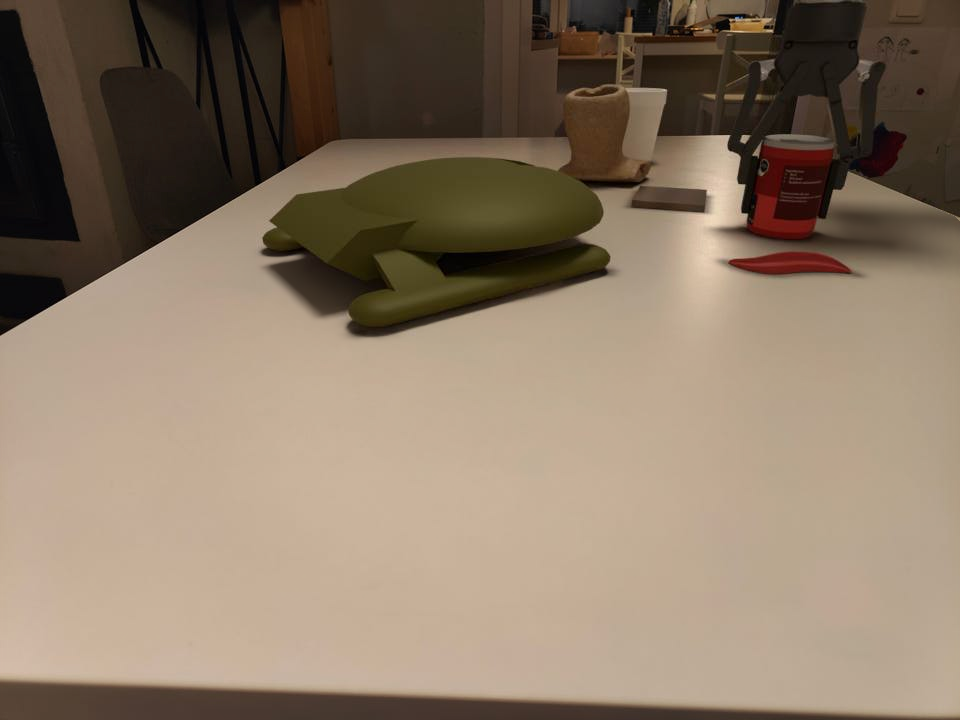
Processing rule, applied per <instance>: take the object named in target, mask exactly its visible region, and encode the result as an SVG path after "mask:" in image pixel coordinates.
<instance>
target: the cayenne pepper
mask: <svg viewBox="0 0 960 720" xmlns="http://www.w3.org/2000/svg"><path fill="white" fill-rule="evenodd" d="M727 263H728V264H729V265H732V266H734V267H737V268H739V269H742V270H746V271H750V272H754V273H761V274H769V275H781V274H792V273H806V272H807V273H808V272H809V273H811V272H813V273H814V272H816V273H817V272H819V273H820V272H821V273H822V272H824V273H842V274H843V273H845V274H853V273H852V270H851V268H849V267H848V266H847V265H846V264H844V263H842V262H841V261H840V260H838V259H836V258H834V257H832V256H829V255H827V254H823V253H820V252H814V251H798V250H797V251H795V250H789V251H778V252H773V253H769V254H765V255H761V256H754V257H744V258H731V259H730V260H729V261H727Z"/></svg>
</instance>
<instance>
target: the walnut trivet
mask: <svg viewBox="0 0 960 720" xmlns="http://www.w3.org/2000/svg"><path fill="white" fill-rule="evenodd" d="M707 194H708V189H705V188H704V189H701V188H687V187H684V188H683V187H669V186H655V185H654V186H653V185H639V187H638V189H637V190H636V193H635V194H634V196H633V198H632V200H631V208H642V209H657V210H670V211H683V212H684V211H685V212H699V213H700V212H701V213H704V212H705V211H706V209H705V208H706V202H707Z"/></svg>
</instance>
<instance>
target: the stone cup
mask: <svg viewBox="0 0 960 720" xmlns="http://www.w3.org/2000/svg"><path fill="white" fill-rule="evenodd" d="M625 88H626V87H624V85H620V84H602V85H600V86H597V87H595V88H589V87H581V88H577V89H575V90H572V91H570V92H569V93H568V94H567V95H566V96H565V98H564V100H563V104H562V111H563V112H562V113H563V125H564V130H565V134H566V137H567V141H568V143H569V147H570V160H569V162H568V163H566V164H565V165H562V166H561V167H559V168H558V170H557V171H560V172H562V173H564V174H567V175H569V176H571V177H573V178H575V179H577V180H579V181H584V182H585V181H588V182H601V183H602V182H603V183H605V182H606V183H640V182H642V181H643V180H644V179H646V177H647V175H649V172H650V170H651V168H652V161H651V160H637V159H630V158H627V157H625V156H624V155H623V152H622V145H623V140H624V136H625V132H626V128H627V124H628V120H629V115H630V101H629V96H628V93H627V91H626V89H625Z"/></svg>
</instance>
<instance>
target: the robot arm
mask: <svg viewBox="0 0 960 720" xmlns="http://www.w3.org/2000/svg"><path fill="white" fill-rule="evenodd" d="M866 5H867V4H866V3H865V2H863V0H796V1H795V3H794V4H792V5H791V7H790V8H788V11H787V17H786V22H785V26H784V32H783V36H782V42H781V46H780V49H779V51H778V53H777V54H776V55H775V57H774V58H771V59H766V60H758V61H757V60H753V61H751V62H749V64H748V70H747V71H748V75H747V76H748V81H747V86H746V89H745V91H744V94H743V97H742V100H741V103H740V106H739V109H738V111H737V113H736V118H735V120H734V123H733V126H732V128H731V131H730V135H729V137H728V140H727V144H726V145H727V147H726V148H727V150H728V151H729V152H731V153H734V154H736V155H738V156H739V158H740V159H739V165H738V170H737V176H736V181H737V184H738V185H741V186H742V185H744V190H743V195H742V200H741V201H742V202H741V206H740V212H741V214H745V215H748V211H749V206H750V200H751V195H752V190H753V185H754V180H755V175H756V170H757V164H758V158H759V155H754V154H755V152H756V151H757V149H758V147H759V146H760V145H761V143H762V141H763V138H764V137H765V136H767V134H768V132H769V131H770V129H771V128H772V126H773V125H774V123H775V122H776V120H777V118H778V117H779V115H780V114H781V112H782V111H783V109H784V108H785V106H786V105H787V104H788V102H789V101H790V100H791V98H792V97H805V96H813V97H816V98H817V97H818V98H819V97H820V98H824V101H825V104H826V108H827V113H828V117H829V122H830V127H831V132H832V136H833V140H834V141H835V150H836V157H837V158H832V161H831V165H830V169H829V173H828V177H827V181H826V185H825V188H824V192H823V196H822V200H821V204H820V208H819V212H818V216H817V219H818V220H826V219H827V216H828V212H829V207H830V204H831V200H832V196H833V193H834V191H842V190H843V188H844V187H845V184H846V180H847V177H848V173H849V169H850V165H851V163H852V162H853V161H855V160H859V159H862V158H869V157H870V156H871V155H872V153H873V149H874V148H873V145H874V136H875V123H876V112H877V100H878V88H879V84H880V82H881V80H882V77H883V76H884V73H885V71H886V68H887V64H886V63H885V61H881V60H872V61H871V60H867V59H861V58H860V54H859V50H858V49H859V48H858V47H859V42H860V39H861V35H862V34H861V33H862V30H863V25H864V22H865V18H866V14H867V9H868V6H866ZM772 70H775V72H776V74H777V76H778V78H779V80H780V82H781V84H782V85H781V86H780V88H779V89H778V91H777V93H776V94H775V96H774V98H773V99H772V101H771V103H770V104H769V106H768V107H767V109H766V110H765V112H764V114H763V115H762V117H761V118H760V120H759V121H758V123H757V124H756V126H755V128H754V129H753V130H752V132H751V134H750V135H749V137H748V138H747V140H746V141H745V143H744V142H742V141H741V140H742V137H743V135H744V132H745V129H746V127H747V123H748V121H749V118H750V115H751V113H752V110H753V108H754V107H753V106H754V105H755V101H756V98H757V96H758V93H759V90H760V86H761V82H764V81H765V80H767V79H768V77H769V73H770V72H771V71H772ZM855 70H856V71H857V79H858V81H859V82H861V85H860V91H859V105H858V117H857V118H858V119H857V133H856V145H854V146H852V144H851V141H850V136H849V131H848V126H847V121H846V116H845V111H844V106H843V99H842V98H843V97H842V94H841V88H840V85H841V84H842V83H843V82H844V81H845V80H847V78H848V77H849V76H850V75H851V74H852V73H853V72H854V71H855Z"/></svg>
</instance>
